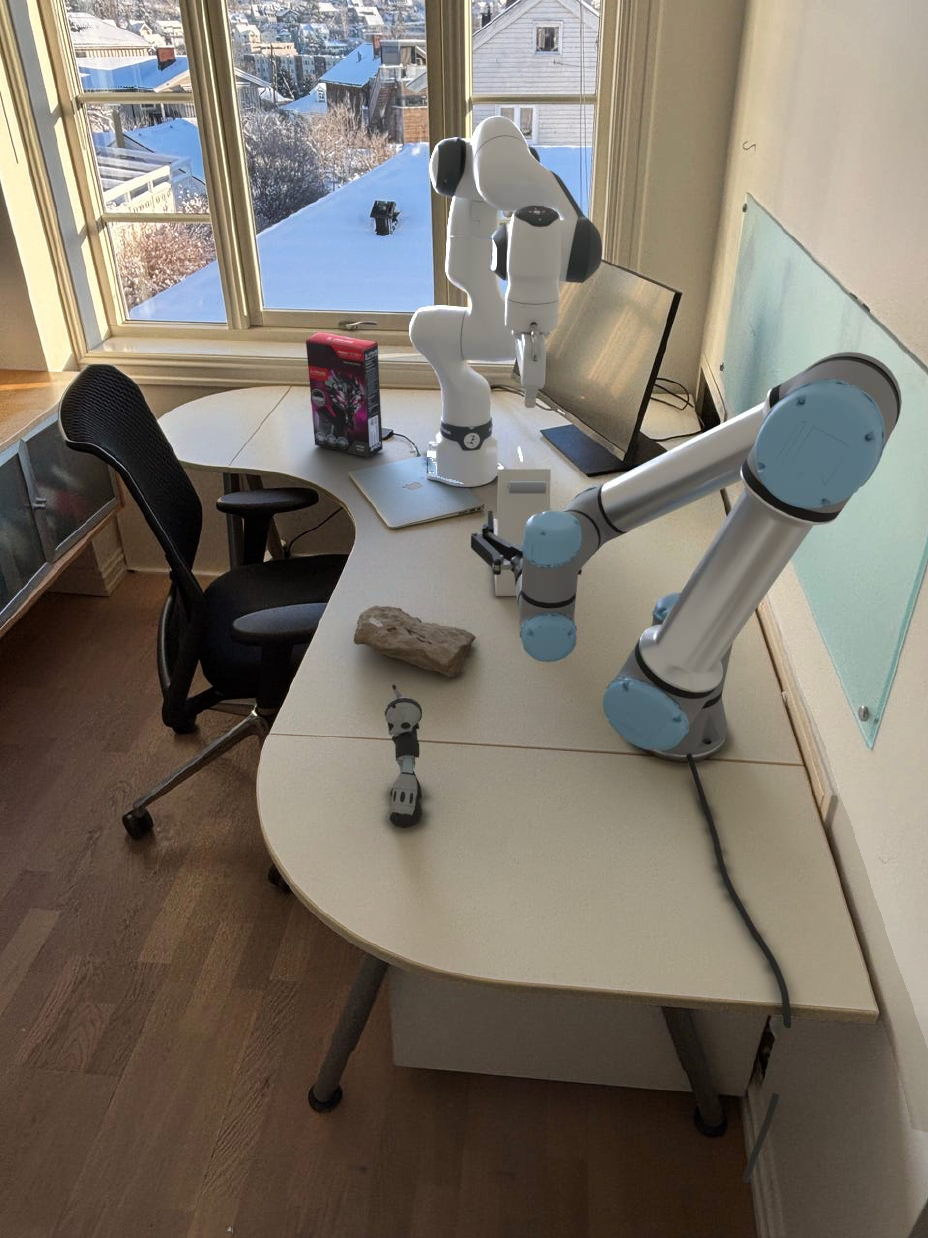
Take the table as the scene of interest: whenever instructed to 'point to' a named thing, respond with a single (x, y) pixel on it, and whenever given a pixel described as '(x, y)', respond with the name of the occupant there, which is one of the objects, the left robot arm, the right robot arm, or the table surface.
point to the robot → (405, 758)
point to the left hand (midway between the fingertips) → (527, 396)
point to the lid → (521, 500)
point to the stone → (413, 639)
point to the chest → (504, 578)
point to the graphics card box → (345, 393)
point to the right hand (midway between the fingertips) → (530, 517)
